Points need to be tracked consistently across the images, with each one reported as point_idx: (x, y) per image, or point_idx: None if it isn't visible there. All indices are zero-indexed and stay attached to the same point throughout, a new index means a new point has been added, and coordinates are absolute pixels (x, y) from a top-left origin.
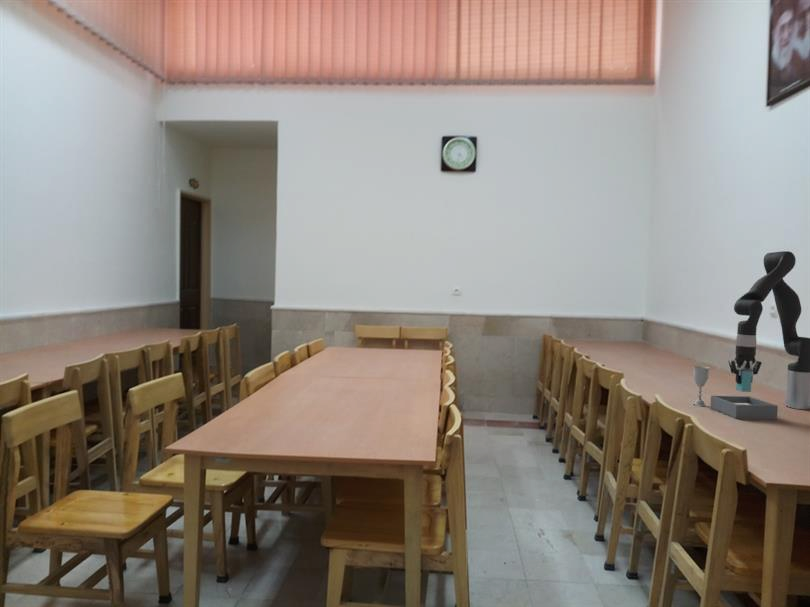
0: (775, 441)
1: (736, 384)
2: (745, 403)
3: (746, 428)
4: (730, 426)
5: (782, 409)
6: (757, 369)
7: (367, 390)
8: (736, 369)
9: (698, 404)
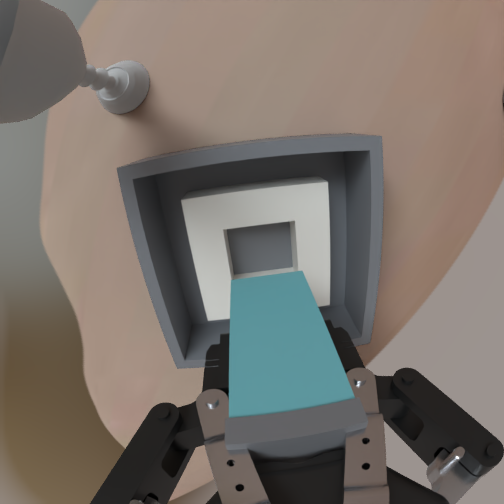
0: (201, 455)
1: (231, 305)
2: (314, 193)
3: (177, 406)
4: (141, 395)
5: (476, 135)
6: (415, 437)
7: None
8: (181, 471)
9: (107, 107)
